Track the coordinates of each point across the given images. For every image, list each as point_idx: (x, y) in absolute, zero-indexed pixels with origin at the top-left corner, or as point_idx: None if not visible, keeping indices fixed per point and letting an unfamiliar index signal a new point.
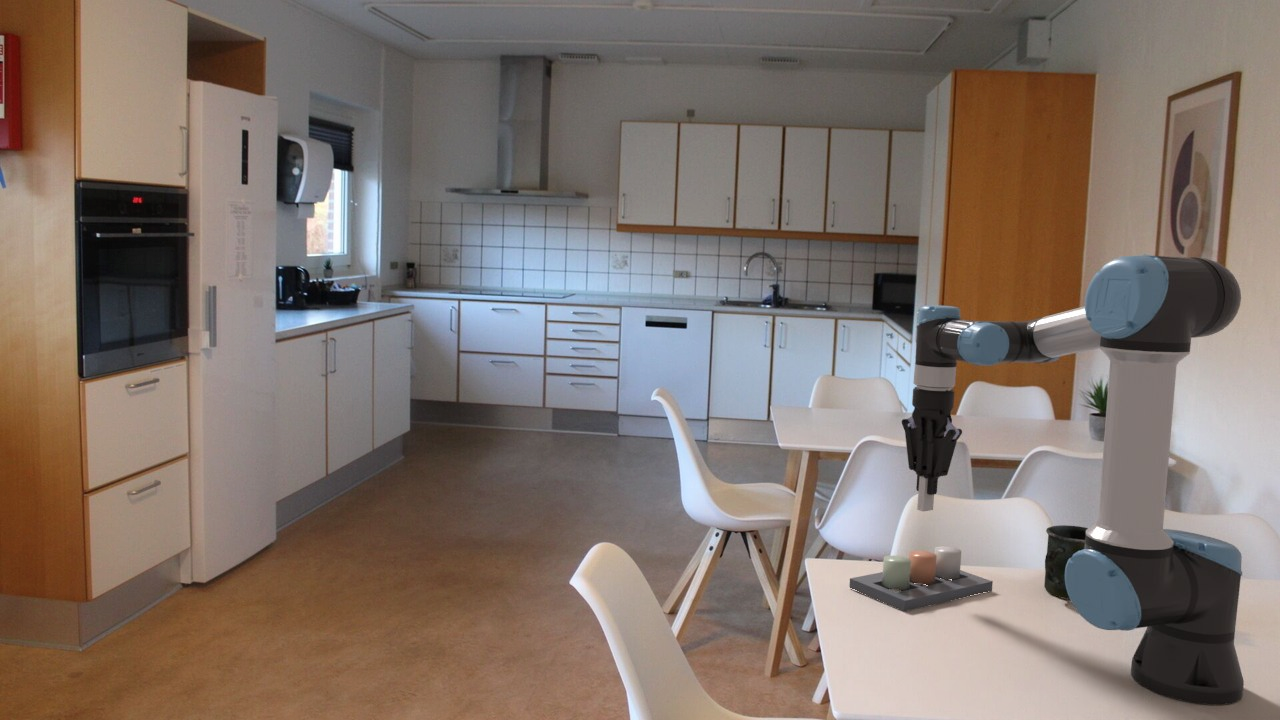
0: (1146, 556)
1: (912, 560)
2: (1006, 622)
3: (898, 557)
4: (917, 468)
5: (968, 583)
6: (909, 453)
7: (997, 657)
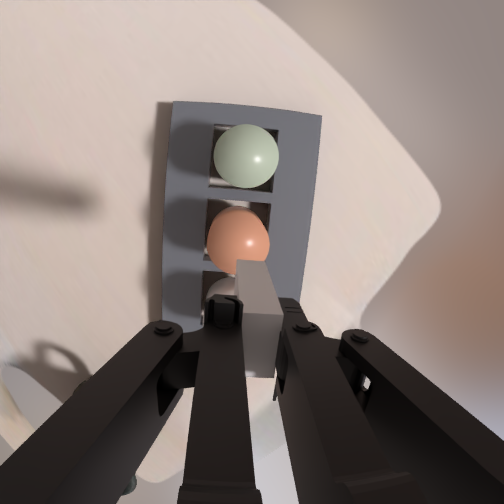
0: None
1: (244, 212)
2: (61, 220)
3: (255, 172)
4: (313, 337)
5: (174, 293)
6: (410, 379)
7: (7, 97)
